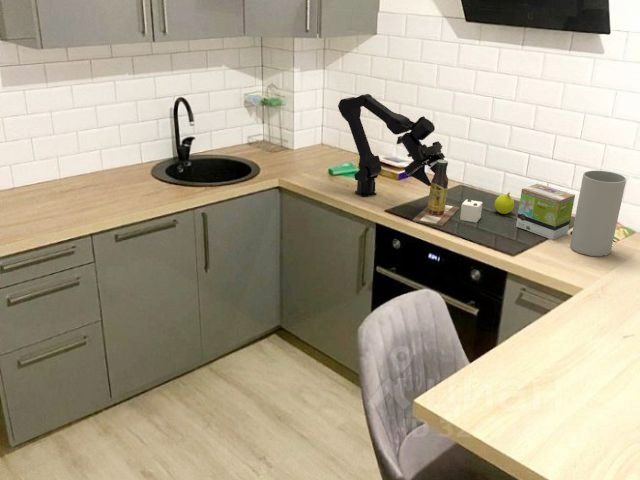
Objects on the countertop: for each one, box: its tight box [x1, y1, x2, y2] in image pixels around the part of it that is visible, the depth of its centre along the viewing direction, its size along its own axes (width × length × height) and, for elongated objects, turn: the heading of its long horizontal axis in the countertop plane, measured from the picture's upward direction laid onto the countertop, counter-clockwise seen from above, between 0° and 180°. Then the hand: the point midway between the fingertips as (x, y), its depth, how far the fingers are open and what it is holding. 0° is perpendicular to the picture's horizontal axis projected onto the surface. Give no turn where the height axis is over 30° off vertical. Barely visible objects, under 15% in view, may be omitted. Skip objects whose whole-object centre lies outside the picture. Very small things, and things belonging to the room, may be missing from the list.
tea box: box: [515, 183, 576, 241], centre depth 221 cm, size 15×10×15 cm
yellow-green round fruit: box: [494, 191, 515, 215], centre depth 237 cm, size 7×7×10 cm
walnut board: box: [412, 204, 460, 228], centre depth 236 cm, size 21×11×1 cm, turn 152°
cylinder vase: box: [569, 170, 627, 257], centre depth 205 cm, size 12×12×25 cm
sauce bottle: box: [427, 159, 449, 215], centre depth 232 cm, size 7×6×20 cm
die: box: [459, 198, 484, 223], centre depth 232 cm, size 6×6×7 cm
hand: (437, 182), depth 232 cm, fingers open, 9 cm apart
